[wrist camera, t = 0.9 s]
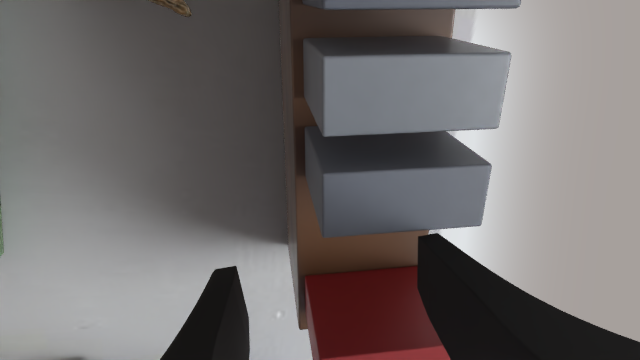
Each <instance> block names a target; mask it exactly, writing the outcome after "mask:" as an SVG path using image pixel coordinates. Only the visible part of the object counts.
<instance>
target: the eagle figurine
mask: <svg viewBox="0 0 640 360" xmlns="http://www.w3.org/2000/svg"><path fill="white" fill-rule="evenodd" d="M148 1H150V2H153V3H156V4H158V5H161V6H164V7H167V8H170V9H172V10H173V11H175V12H176V13H178V14H180V15H182V16H185V17H190V16H191V15H192V13H191V10H190V8H189V7H188V5H187V4H186V3H185V1H184V0H148Z"/></svg>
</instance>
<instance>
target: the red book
mask: <svg viewBox="0 0 640 360" xmlns="http://www.w3.org/2000/svg"><path fill="white" fill-rule="evenodd" d="M305 311H306V319H307V325H308V331H309V338H310V344H311V350H312V357H313V360H451V359H450V357H449V355H448V354H447V352H446V350H445V348H444V346H443V344H442V342H441V340H440V339H439V337H438V335H437V333H436V331H435V329H434V327H433V325H432V323H431V321H430V320H429V318H428V315H427V313H426V310H425V308H424V305H423V302H422V300H421V297H420V294H419V291H418V289H417V266H411V267H400V268H389V269H377V270H366V271H355V272H343V273H332V274H321V275H309V276H305Z"/></svg>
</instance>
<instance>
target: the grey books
mask: <svg viewBox="0 0 640 360" xmlns="http://www.w3.org/2000/svg"><path fill="white" fill-rule="evenodd" d="M302 2H303V4H305V5H308V6H312V7H316V8H320V9H324V10H378V9H499V8H500V9H510V8H517V7H519V6H520V4H521V0H302ZM510 60H511V53H510V52H507V51H503V50H499V49H495V48H490V47H486V46H482V45H477V44H473V43H469V42H465V41H460V40H456V39H452V38H448V37H443V36H402V37H340V38H305V39H304V40H303V64H304V97H305V99H306V102H307V104H308V106H309V108H310V110H311V112H312V114H313V116H314V119H315V121H316V123H317V125H318V126H309V127H305V176H306V180H307V184H308V187H309V191H310V195H311V198H312V202H313V206H314V209H315V213H316V216H317V220H318V224H319V227H320V231H321V235H322V237H323V238H330V237H343V236H356V235H369V234H382V233H395V232H408V231H421V230H434V229H445V228H446V229H447V228H459V227H471V226H480V225H481V224H482V217H483V212H484V207H485V201H486V196H487V189H488V184H489V179H490V172H491V167H492V166H491V164H490V163H489V162H487V161H486V160H485V159H483V158H482V157H480V156H479V155H478V154H476V153H475V152H474V151H472V150H471V149H469V148H468V147H467V146H465V145H464V144H463V143H461V142H460V141H459V140H457V139H456V138H454V137H453V136H452V135H450V134H449V133H448V132H446V131H458V130H479V129H496V128H498V127H499V122H500V116H501V110H502V104H503V99H504V94H505V88H506V83H507V77H508V71H509V66H510Z"/></svg>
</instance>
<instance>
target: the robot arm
mask: <svg viewBox="0 0 640 360" xmlns="http://www.w3.org/2000/svg"><path fill="white" fill-rule="evenodd" d="M417 289H418V291H419V294H420V297H421V300H422V302H423V305H424V308H425V310H426V313H427V315H428V318H429V320H430V321H431V323H432V325H433V327H434V329H435V331H436V333H437V335H438V337H439V339H440V340H441V342H442V344H443V346H444V348H445V350H446V352H447V354H448V355H449V357H450V359H451V360H640V342H638V341H635V340H632V339H629V338H627V337H624V336H621V335H618V334H616V333H613V332H610V331H607V330H605V329H603V328H600V327H598V326H595V325H593V324H590V323H588V322H586V321H583V320H581V319H579V318H576V317H574V316H572V315H570V314H568V313H566V312H563V311H561V310H559V309H557V308H555V307H553V306H551V305H549V304H547V303H545V302H543V301H541V300H539V299H537V298H535V297H534V296H532V295H530V294H528V293H526V292H525V291H523V290H521V289H519V288H518V287H516V286H514V285H513V284H511V283H509V282H508V281H506V280H504V279H503V278H501V277H500V276H498V275H497V274H495V273H493V272H492V271H490V270H489V269H487V268H486V267H484V266H483V265H481V264H480V263H478V262H477V261H476V260H474V259H473V258H471V257H470V256H468V255H467V254H466V253H464V252H463V251H461V250H460V249H459V248H457V247H456V246H455V245H453V244H452V243H450V242H449V241H448V240H446V239H445V238H443V237H442V236H441V235H439V234H438V233H436V234H429V235H423V236H418V264H417ZM249 351H250V345H249V317H248V313H247V309H246V304H245V300H244V296H243V292H242V288H241V284H240V279H239V275H238V271H237V267H236V266H233V267H227V268H221V269H215V271H214V272H213V273H212V275H211V277H210V279H209V281H208V283H207V285H206V287H205V289H204V291H203V293H202V294H201V296H200V298H199V300H198V302H197V304H196V305H195V307H194V309H193V310H192V312H191V314H190V315H189V317H188V319H187V320H186V322H185V324H184V325H183V327H182V328H181V330H180V332H179V333H178V334H177V336H176V337H175V339H174V340H173V342H172V343H171V345H170V346H169V348H168V349H167V351H166V352H165V354H164V355H163V356H162V358H161V359H160V360H249Z"/></svg>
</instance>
